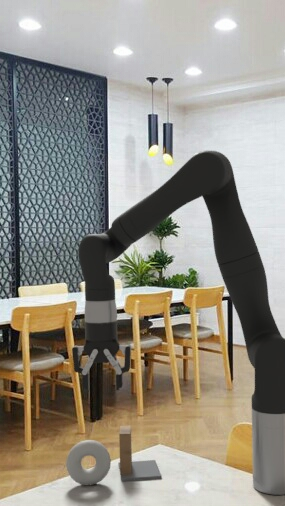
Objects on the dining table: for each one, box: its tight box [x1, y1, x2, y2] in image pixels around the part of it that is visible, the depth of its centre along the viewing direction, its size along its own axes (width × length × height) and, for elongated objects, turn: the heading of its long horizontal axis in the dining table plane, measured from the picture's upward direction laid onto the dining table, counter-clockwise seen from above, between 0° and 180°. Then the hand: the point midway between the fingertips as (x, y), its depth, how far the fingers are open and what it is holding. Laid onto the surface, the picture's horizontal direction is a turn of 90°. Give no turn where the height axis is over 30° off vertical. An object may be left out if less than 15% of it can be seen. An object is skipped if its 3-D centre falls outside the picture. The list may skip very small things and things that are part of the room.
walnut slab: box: [118, 425, 133, 476], centre depth 142 cm, size 6×2×10 cm, turn 179°
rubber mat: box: [117, 459, 163, 482], centre depth 143 cm, size 9×10×1 cm
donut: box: [65, 439, 112, 486], centre depth 136 cm, size 10×4×10 cm, turn 98°
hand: (102, 389), depth 143 cm, fingers open, 6 cm apart
